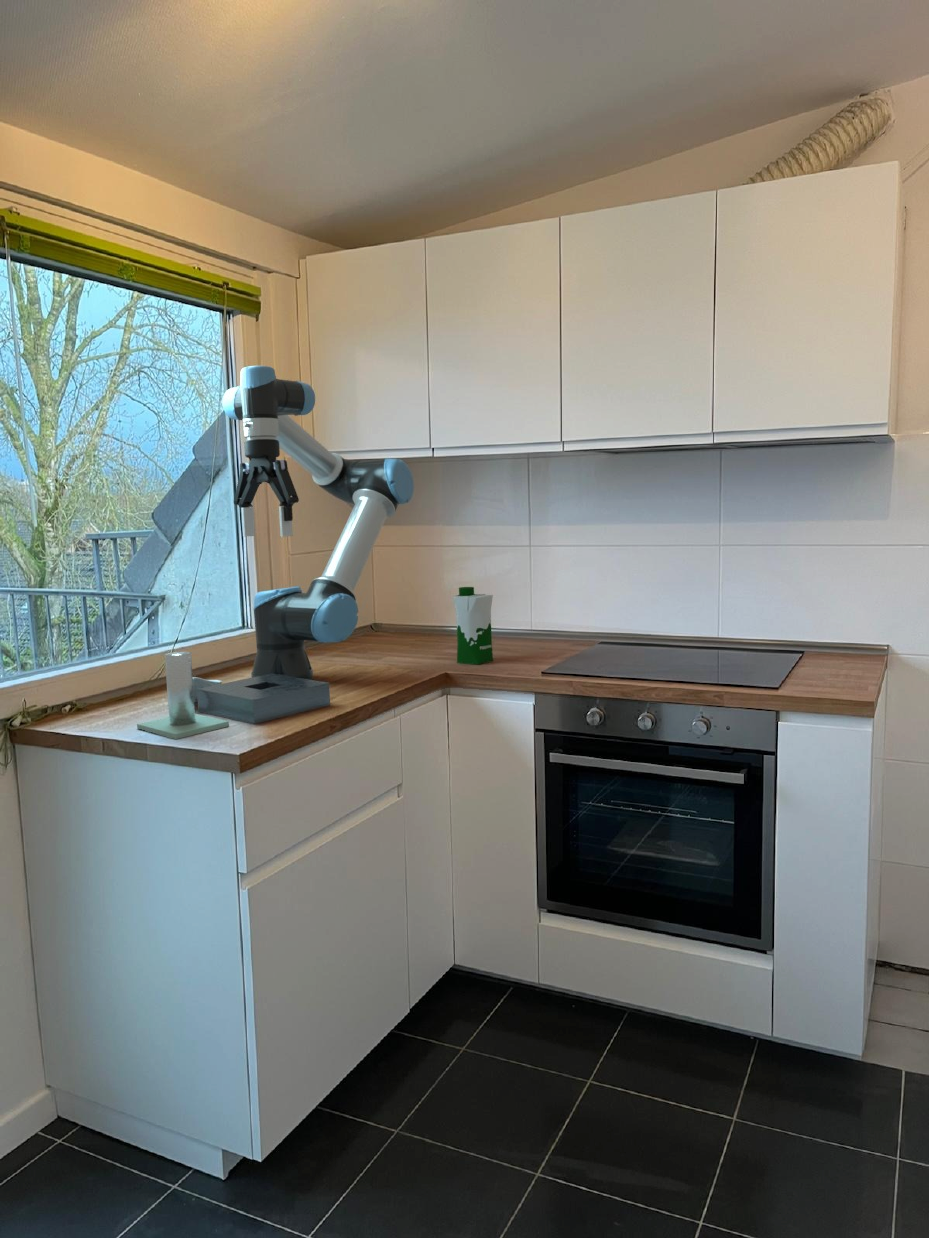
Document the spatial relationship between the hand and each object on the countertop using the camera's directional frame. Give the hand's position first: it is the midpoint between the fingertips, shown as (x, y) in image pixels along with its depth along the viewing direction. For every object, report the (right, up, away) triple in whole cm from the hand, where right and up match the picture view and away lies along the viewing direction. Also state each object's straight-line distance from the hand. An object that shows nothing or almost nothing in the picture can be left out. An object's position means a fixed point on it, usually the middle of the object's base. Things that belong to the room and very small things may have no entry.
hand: (267, 536), depth 205 cm
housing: (0, -38, -5) cm, 38 cm away
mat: (-13, -40, -20) cm, 47 cm away
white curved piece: (-17, -38, +2) cm, 42 cm away
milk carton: (+47, -30, +43) cm, 70 cm away
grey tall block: (-13, -39, -20) cm, 46 cm away
